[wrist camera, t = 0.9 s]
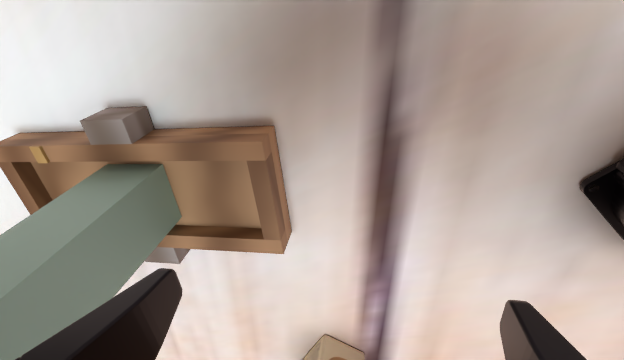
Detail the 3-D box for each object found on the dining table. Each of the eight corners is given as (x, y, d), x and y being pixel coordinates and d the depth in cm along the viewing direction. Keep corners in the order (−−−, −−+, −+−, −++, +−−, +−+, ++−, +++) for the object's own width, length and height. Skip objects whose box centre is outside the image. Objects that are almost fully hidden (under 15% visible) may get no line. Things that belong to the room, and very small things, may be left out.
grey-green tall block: (162, 164, 23) (-49, 339, 12) (181, 217, 25) (19, 406, 14) (106, 164, 23) (-138, 326, 13) (130, 215, 26) (-61, 391, 15)
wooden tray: (270, 100, 20) (255, 115, 18) (294, 248, 26) (285, 273, 24) (7, 112, 24) (-30, 125, 22) (78, 237, 30) (54, 257, 28)
